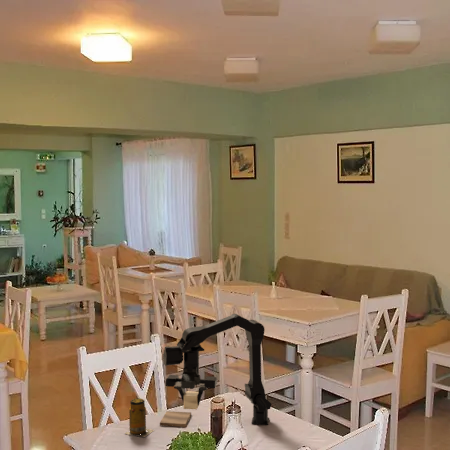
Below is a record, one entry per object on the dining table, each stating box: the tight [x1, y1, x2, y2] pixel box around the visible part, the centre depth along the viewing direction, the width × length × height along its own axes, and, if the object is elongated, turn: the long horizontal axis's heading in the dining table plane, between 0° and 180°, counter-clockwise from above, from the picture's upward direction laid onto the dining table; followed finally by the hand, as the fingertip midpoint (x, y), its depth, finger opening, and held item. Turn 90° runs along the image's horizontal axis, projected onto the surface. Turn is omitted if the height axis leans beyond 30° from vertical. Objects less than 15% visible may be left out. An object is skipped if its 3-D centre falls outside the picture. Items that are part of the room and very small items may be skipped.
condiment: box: [124, 398, 155, 438], centre depth 226 cm, size 7×8×12 cm
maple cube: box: [183, 390, 200, 410], centre depth 227 cm, size 5×5×5 cm
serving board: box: [159, 410, 192, 428], centre depth 238 cm, size 12×10×1 cm
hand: (191, 404), depth 227 cm, fingers closed on maple cube, 5 cm apart
